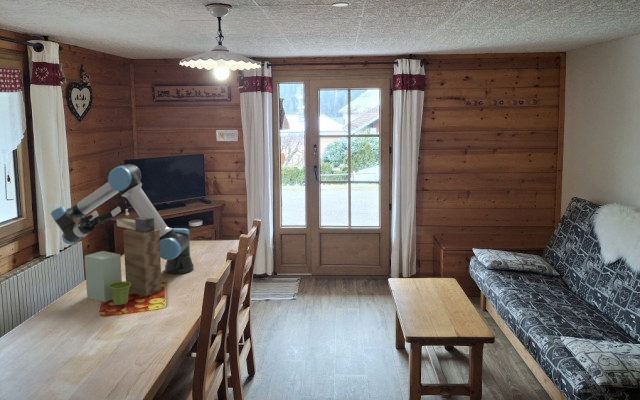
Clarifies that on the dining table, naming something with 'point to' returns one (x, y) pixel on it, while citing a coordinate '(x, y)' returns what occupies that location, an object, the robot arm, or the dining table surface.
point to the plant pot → (120, 292)
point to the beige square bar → (137, 224)
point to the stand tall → (142, 261)
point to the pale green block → (102, 274)
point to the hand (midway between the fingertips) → (108, 210)
